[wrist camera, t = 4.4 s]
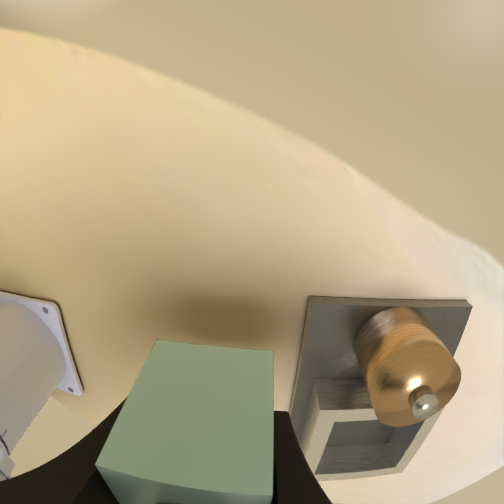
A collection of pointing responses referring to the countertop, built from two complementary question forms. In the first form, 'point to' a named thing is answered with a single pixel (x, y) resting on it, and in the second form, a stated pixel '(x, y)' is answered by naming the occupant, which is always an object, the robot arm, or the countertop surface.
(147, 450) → the block
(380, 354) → the motor mount
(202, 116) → the countertop surface
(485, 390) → the countertop surface
